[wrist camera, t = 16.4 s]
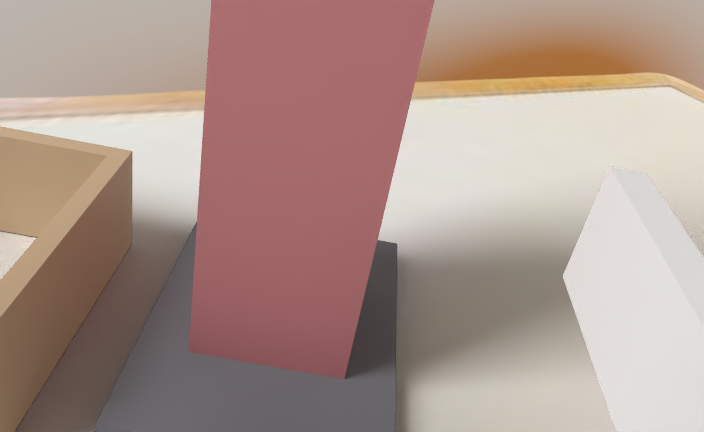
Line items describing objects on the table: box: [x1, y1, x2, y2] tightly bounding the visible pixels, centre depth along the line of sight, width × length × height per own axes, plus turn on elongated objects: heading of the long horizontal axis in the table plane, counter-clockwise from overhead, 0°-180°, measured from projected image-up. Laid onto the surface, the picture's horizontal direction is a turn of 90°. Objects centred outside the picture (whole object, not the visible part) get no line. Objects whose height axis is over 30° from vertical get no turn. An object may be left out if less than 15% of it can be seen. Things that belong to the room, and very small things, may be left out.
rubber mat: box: [95, 222, 397, 432], centre depth 28 cm, size 10×14×1 cm
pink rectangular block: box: [189, 0, 434, 379], centre depth 23 cm, size 6×6×20 cm
